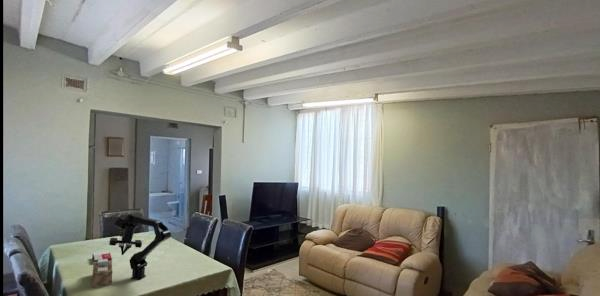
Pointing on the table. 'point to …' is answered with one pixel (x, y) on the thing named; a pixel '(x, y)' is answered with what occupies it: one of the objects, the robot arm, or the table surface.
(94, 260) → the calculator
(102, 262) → the grey button
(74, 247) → the table surface
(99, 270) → the cream button
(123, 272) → the table surface
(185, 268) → the table surface
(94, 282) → the brown rectangular box
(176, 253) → the table surface
